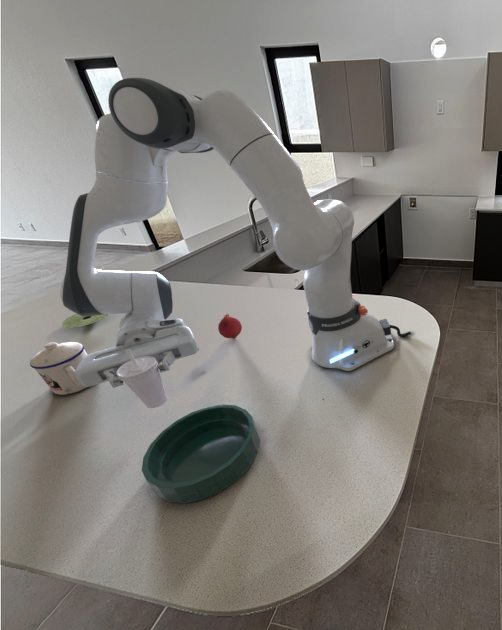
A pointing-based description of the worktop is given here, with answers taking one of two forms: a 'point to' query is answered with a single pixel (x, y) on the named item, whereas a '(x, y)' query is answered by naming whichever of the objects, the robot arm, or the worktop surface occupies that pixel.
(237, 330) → the onion
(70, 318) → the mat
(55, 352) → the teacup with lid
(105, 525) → the worktop surface
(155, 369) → the smoothie
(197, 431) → the green round tray
